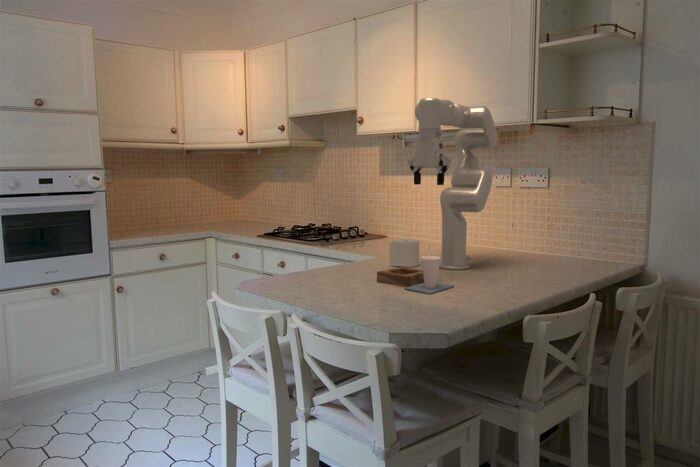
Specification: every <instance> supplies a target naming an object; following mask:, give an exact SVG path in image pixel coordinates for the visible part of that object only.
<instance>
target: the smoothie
mask: <svg viewBox="0 0 700 467" xmlns="http://www.w3.org/2000/svg"><path fill="white" fill-rule="evenodd" d="M420 261H421V265H422V266H421V267H422V270H423V276H424V285H425V287H426V288H435V287H436V284H437V283H438V278H439V277H438V275H439V270H440V268H439V263H440V262H441V261H442V257H440V256H436V255H431V244H428V255H425V256H424V255H423V256H421V257H420Z"/></svg>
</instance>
